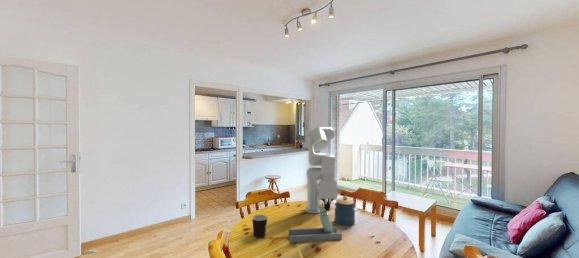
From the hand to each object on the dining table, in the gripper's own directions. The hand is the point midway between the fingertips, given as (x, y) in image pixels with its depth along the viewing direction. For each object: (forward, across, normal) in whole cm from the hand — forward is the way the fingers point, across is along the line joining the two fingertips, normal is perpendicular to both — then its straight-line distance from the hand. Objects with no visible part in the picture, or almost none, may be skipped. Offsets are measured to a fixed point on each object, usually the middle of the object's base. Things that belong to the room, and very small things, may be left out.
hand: (327, 210), depth 132 cm
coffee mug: (+16, -36, +9) cm, 40 cm away
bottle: (+14, +2, 0) cm, 14 cm away
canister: (+16, +18, +18) cm, 30 cm away
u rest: (+16, -7, 0) cm, 17 cm away
